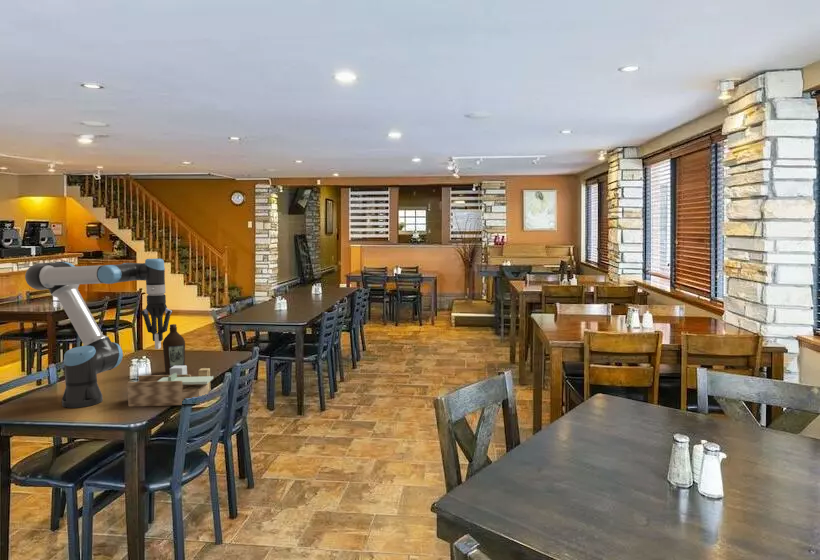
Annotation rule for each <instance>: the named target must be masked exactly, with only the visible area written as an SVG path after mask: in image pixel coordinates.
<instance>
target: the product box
mask: <svg viewBox="0 0 820 560" xmlns="http://www.w3.org/2000/svg"><path fill="white" fill-rule="evenodd" d="M173 373H177V375H186V374H188V366H187V365H186V364H185V365H184V366H173V367H171V368H170V375H172V374H173Z"/></svg>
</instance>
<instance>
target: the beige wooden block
mask: <svg viewBox="0 0 820 560" xmlns="http://www.w3.org/2000/svg"><path fill="white" fill-rule="evenodd" d="M197 373H198V375H197V377H200V376H211V368H207V367H203V368H199V369H198V370H197ZM211 390H212V389H211V381H210V382H209V383H208V393H209V392H210V391H211Z"/></svg>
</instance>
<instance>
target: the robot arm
mask: <svg viewBox="0 0 820 560" xmlns="http://www.w3.org/2000/svg"><path fill="white" fill-rule="evenodd" d="M165 272H166V268H165V261H164V259H163V258H146V259H145V260H144V262H142V263H141V262H140V263H139V262H123V263H120V264H119V263H118V264H104V265H100V264H99V265H81V266H75V265H74V263H71V262H68V261H67V262H66V261H54V262H53V261H52V262H38V263H35V264H32V265H31V266H29V267H28V268H27V270H26V272H25V274H24V275H25V276H24V277H25V278H24V280H25V282H26V284H27V285H28V286H29V287H30V288H32V289H34V290H39V291H45V290H48V291H49V294H51V296H52V297H55V298H57V299H58V301H59V303H60V305H61V307H62V308H63V310H64V312H65V313H66V314H65V315H67V317H68V319H69V320H70V322H71V325H72V326H73V328H74V330H75V332H76V334H77V335H78V337H79V338H80V340H81V343H82V344H83V345H81V346H76V347H73V348H70V349H68V350H66V351H65V353H64V354H63V365H64V366H63V367H64V368H63V369H64V380H65V389H64V392H63V395H62V398H61V406H62V407H63V408H66V407H67V409H75V408H76V409H78V408H79V409H80V408H85V407H90V406H94V405H98V404H100V403H102V402H103V400H104V399H103V393H102V390H101V389H100V387H99V384H98V377H97V376H98V375H97V374H101V373H103V372H106V371H112V370H113V369H114V368H117V367H118V366H119V365H120V364H121V362H122V360H123V358H124V355H123V354H124V353H123V349H122V346H120V345H119V343H116V342H113V341H111V339H110V336H107V335H104V334H103V333H102V330H101V328H100V327H99V325H98V324H97V322H96V319H95V318H94V316H93V314H92V312H91V310H90V309H89V307H88V306H87V303H86V301H85V300H84V298H83V296H82V294H81V293H80V291H79V287H80V285H90V284H91V285H95V284H106V285H112V284H113V285H114V284H117V283H125V282H132V281H135V282H136V281H145V289H146V307H145V309H143V310H141V311H140V314H141V315H142V316H143V320H144V324H145V327H146V329H147V330H146V331H147V333H150V334H152V341H153V342H154V349H155V350H160V349H161V348H162V342H163V340H164V338H163V334H164V333H165V332H168V328H169V325H170V324H169V323H170V322H169V321H170V318H171V315H172V313H173V310H172V309H170V308H169V307H168V306H167V304H166V302H167V301H166V297H167V295H165V294H166V282H165V281H166V280H165V277H166V276H165ZM164 313H165V315H164ZM163 316H164V317H163ZM163 318H164V320H163Z"/></svg>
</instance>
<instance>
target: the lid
mask: <svg viewBox="0 0 820 560" xmlns="http://www.w3.org/2000/svg"><path fill="white" fill-rule="evenodd" d="M213 380H214V375H212V376H211V375H210V376H200V377H198V376H191V377H177V373H173V374H172V375H171V376H169V377H163V378H161V379H160V380H158V381H182V385H184V384H208V383H209V382H210V383H211V382H212V381H213Z"/></svg>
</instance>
